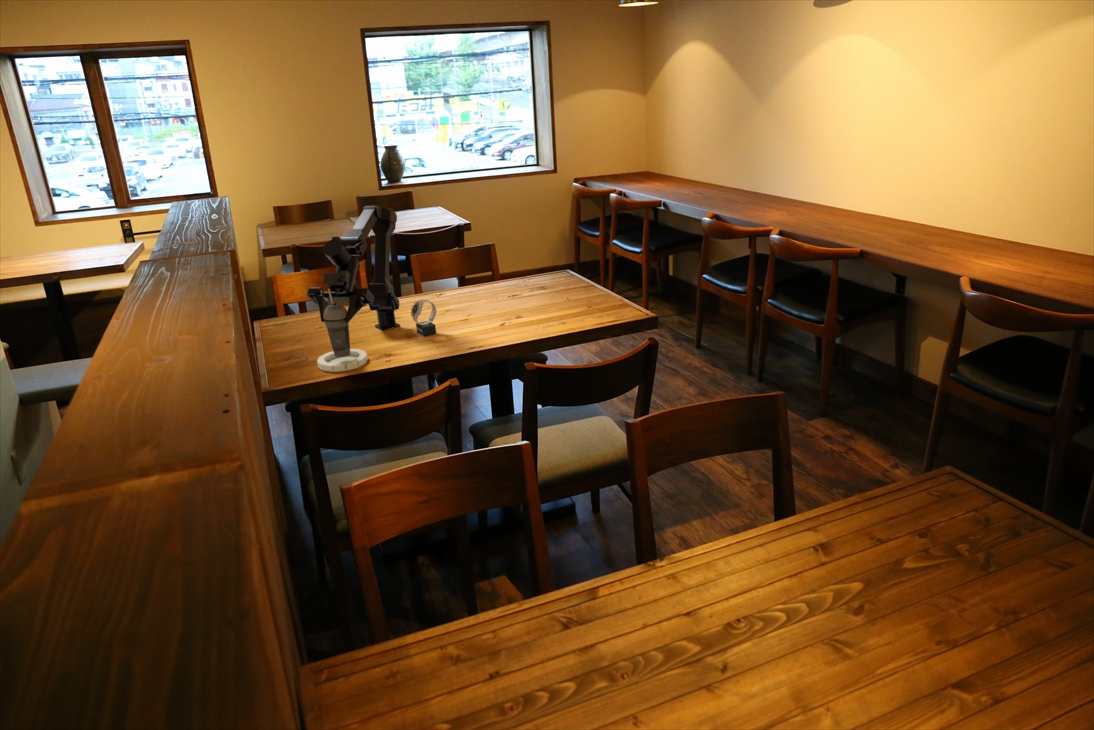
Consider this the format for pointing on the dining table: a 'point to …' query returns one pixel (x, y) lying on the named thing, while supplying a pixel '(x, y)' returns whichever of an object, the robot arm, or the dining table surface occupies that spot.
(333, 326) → the beverage cup
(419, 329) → the watch
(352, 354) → the ring tray
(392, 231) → the robot arm
